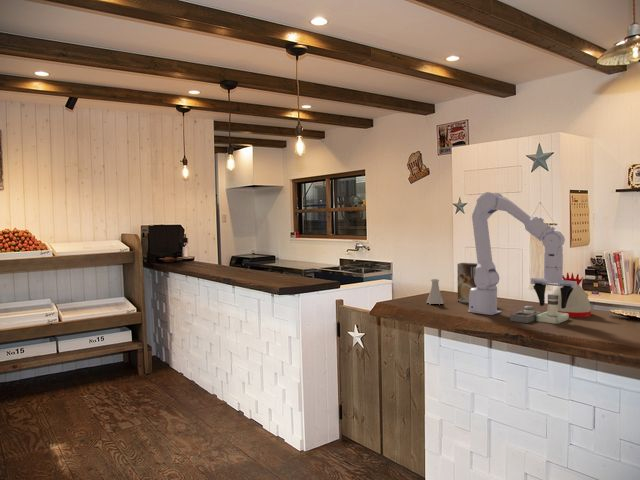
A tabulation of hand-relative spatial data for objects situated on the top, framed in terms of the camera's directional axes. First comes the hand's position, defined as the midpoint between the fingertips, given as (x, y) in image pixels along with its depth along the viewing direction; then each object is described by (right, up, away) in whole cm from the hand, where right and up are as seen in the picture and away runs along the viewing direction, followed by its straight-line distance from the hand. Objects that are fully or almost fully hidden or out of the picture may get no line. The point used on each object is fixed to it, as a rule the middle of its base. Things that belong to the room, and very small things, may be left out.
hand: (552, 306), depth 169 cm
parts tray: (0, -5, 0) cm, 5 cm away
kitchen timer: (+12, -4, +12) cm, 18 cm away
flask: (-32, -4, +34) cm, 47 cm away
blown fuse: (0, -4, 0) cm, 4 cm away
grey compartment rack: (-8, -5, +2) cm, 10 cm away
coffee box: (-17, -3, +38) cm, 41 cm away
